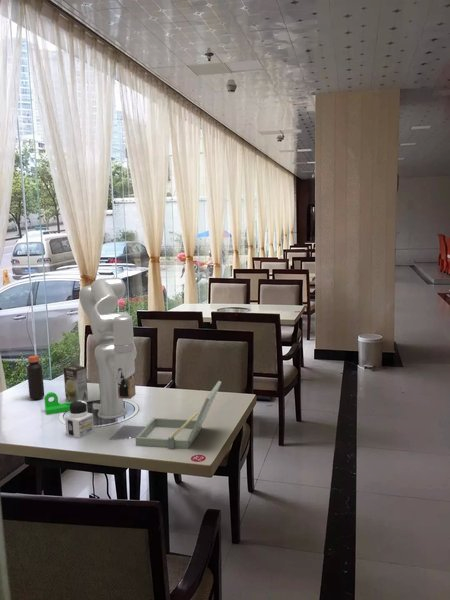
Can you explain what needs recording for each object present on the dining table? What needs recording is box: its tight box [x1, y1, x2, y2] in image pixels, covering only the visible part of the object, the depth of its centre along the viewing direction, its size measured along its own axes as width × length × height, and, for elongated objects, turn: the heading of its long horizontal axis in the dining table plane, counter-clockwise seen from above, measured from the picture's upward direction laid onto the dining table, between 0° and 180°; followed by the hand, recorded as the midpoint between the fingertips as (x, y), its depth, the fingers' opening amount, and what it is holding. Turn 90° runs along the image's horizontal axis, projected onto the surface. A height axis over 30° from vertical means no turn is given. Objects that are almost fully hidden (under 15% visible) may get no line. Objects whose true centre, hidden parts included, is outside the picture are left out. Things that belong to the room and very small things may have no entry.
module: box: [118, 376, 137, 400], centre depth 203 cm, size 5×5×8 cm
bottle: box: [26, 355, 45, 400], centre depth 253 cm, size 7×7×20 cm
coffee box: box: [63, 364, 89, 402], centre depth 246 cm, size 9×6×16 cm
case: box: [134, 380, 222, 450], centre depth 199 cm, size 29×21×20 cm
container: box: [64, 401, 95, 439], centre depth 207 cm, size 8×8×13 cm
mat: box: [108, 424, 146, 441], centre depth 206 cm, size 11×14×1 cm
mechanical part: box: [44, 391, 72, 416], centre depth 235 cm, size 12×6×8 cm, turn 115°
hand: (126, 393), depth 204 cm, fingers closed on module, 5 cm apart
